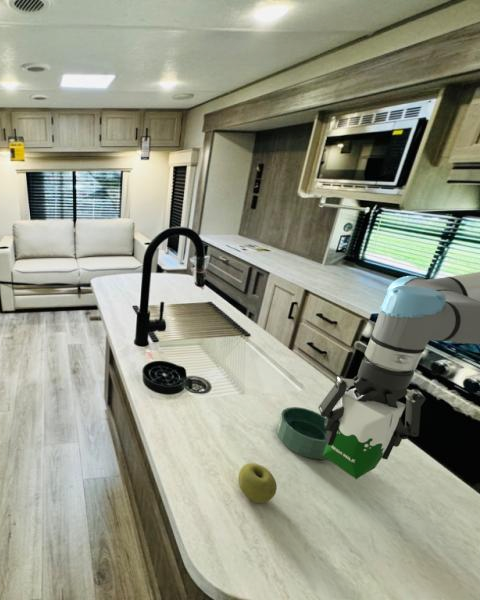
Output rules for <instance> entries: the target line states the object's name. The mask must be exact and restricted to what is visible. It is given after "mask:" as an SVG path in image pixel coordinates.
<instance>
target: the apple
mask: <svg viewBox="0 0 480 600" xmlns="http://www.w3.org/2000/svg"><path fill="white" fill-rule="evenodd" d="M237 479H238V485H239V488H240V490H241V492H242V493H243V495H244V496H245V497H247V499H248V500H250V501H252V502H255V503H257V504H265V503H268V502H270V501H271V500H272V499H273V498H274V497H275V495H276V494H277V487H278V486H277V481H276V479H275V476H274V475H273V474H272V473H271V471H270V470H269V469H268V468H266V467H265V466H264V465H261V464H259V463H254V462H248V463H246V464H244V465H243V466H241V468H240V469H239V472H238V477H237Z"/></svg>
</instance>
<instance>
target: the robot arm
mask: <svg viewBox="0 0 480 600" xmlns="http://www.w3.org/2000/svg"><path fill="white" fill-rule="evenodd" d="M430 341H433V342H447V343H456V344H457V343H458V344H468V345H469V344H470V345H480V271H476V272H470V273H465V274H459V275H452V276H445V277H437V278H431V279H426V278H425V277H421V276H415V275H407V276H405V275H404V276H402V277H399V278H397V279H395V280H393V281H392V282H391V284H390V285H389V286H388V288H387V290H386V295H385V297H384V300H383V302H382V304H381V305H380V307H379V313H378V315H377V319H376V321H375V324H374V328H373V330H372V333H371V336H370V338H369V341H368V343H367V346H366V350H365V351H364V356H363V358H362V360H361V363H360V366H359V369H358V371H357V375H356V376H354V378H345V377H344V376H342V375H337V376H336V377H335V382H334V383H335V384H333V386H332V388H331V389H330V390H329V392H328V393H327V395H326V396H325V397H324V398H323V400H322V402H321V403H320V404H319V405H318V408H317V409H318V411H319V414H321V415H322V416H323V417H325V418H326V419H325V422H324V426H325V429H326V430H327V431H326V434H325V439H326V441H327V444H328V445H331V446H332V444H333V441H334V439H335V436H336V433H337V430H338V428H339V425H340V422H339V420H338V419H339V418H341V417H342V416H343V413H344V407H343V406H342V403H341V400H342V396H343V395H344V393H346V392H347V391H349V390H350V388H351V387H354V388H355V389H354V388H352V389H353V390H352V391H353V392H352V393H353V395H354V396H355V398H356V400H357V401H362V402H366V401H371V402H372V401H375V402H380V403H383V404H388V406H389V407H393V408H398V407H397V404H396V400H398V401H399V400H400V399H402V398H406V401H405V405H406V407H405V419H404V424H403V421H402V417H400V418H399V421H398V424H397V426H396V429H395V431H394V433H393V435H392V437H391V440H390V442H389V444H388V446H387V448H386V450H385V452H384V455H383V457H382V458H381V459H383V460H388V459H389V456H390V454H391V453H392V450H393V448H394V447H395V448H398V447H399V446H400V444H401V443H402V440H407V439H408V438H409V437H408V436H411V437H413V438H416V437H419V434H420V423H421V409H422V406H423V405H424V402H425V401H426V400H427V399H426V397H425V395H423V394H422V392H421V391H420V390H419V389H416V388H413V389H409V386H410V384H411V381H412V379H413V377H414V375H415V371H414V370H416V369H417V367H418V365H419V362H420V360H421V358H422V356H423V353H424V352H425V350H426V347H427V345H429V344H428V343H429V342H430ZM356 393H359V395H360V397H358V396H357V394H356Z"/></svg>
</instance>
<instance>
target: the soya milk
mask: <svg viewBox="0 0 480 600" xmlns="http://www.w3.org/2000/svg"><path fill="white" fill-rule="evenodd" d="M353 389H355V387H354V388H351V389H349V390H347V391H345V393H344V395H343V396H342V398H341V399H340V401H341V403H342V406H343V407H344V413H343V416H342V417H341V418H339V419H338V420H339V422H340V425H339V428H338V430H337V433H336V436H335V439H334V441H333V444H332V446H331V445H328V444H326V447H325V450H324V453H323V456H324V457H326V458H325V459H327V460H328V461H330V462H331V463H333V464H334V465H335V466H337V467H338V468H340V469H341V470H343V471H344V472H345V473H347V474H348V475H349V476H351V477H352V478H354V479H355V480H358V479H360V478H361V477H362V476H364V475H366V474H367V473H370V472H371V471H373V470H374V469H375V468H376V467H377V466H378V464H379V463H380V461H381V460H382V459H383V458H382V457H383V455H384V452H385V450H386V448H387V446H388V444H389V442H390V440H391V437H392V435H393V433H394V431H395V429H396V426H397V424H398V421H399V418H402V415H403V412H404V411H405V410H406V403H404V402H401V401H399V399H398V400H396V404H397V407H398V408H393V407H389V406H388V404H383V403H380V402H375V401H372V402H371V401H366V402H362V401H357V400H356V398H355V396H354V395H353V393H352V392H353V391H352V390H353ZM356 394H357V396H358V397H360V395H359V393H356Z"/></svg>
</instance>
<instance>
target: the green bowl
mask: <svg viewBox="0 0 480 600" xmlns="http://www.w3.org/2000/svg"><path fill="white" fill-rule="evenodd" d="M325 419H326V417H323V416H322V415H321V413H319V412H316V411H314V410H312V409H308V408H304V407H297V406H291V407H286V408H285V409H283V410H282V411H281V413H280V417H279V421H278V425H277V428H276V433H277V437H278V438H279V440H280V441H281V443H282V444H283V445H285V446H286V447H287V448H288V449H289V450H290V451H292V452H295V453H297V454H298V455H301V456H303V457H306V458H309V459H315V460H322V459H327V458H326V457H324V456H323V453H324V450H325V447H326V444H327V441H326V439H325V434H326V431H327V430H326V429H325V426H324V422H325Z"/></svg>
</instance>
